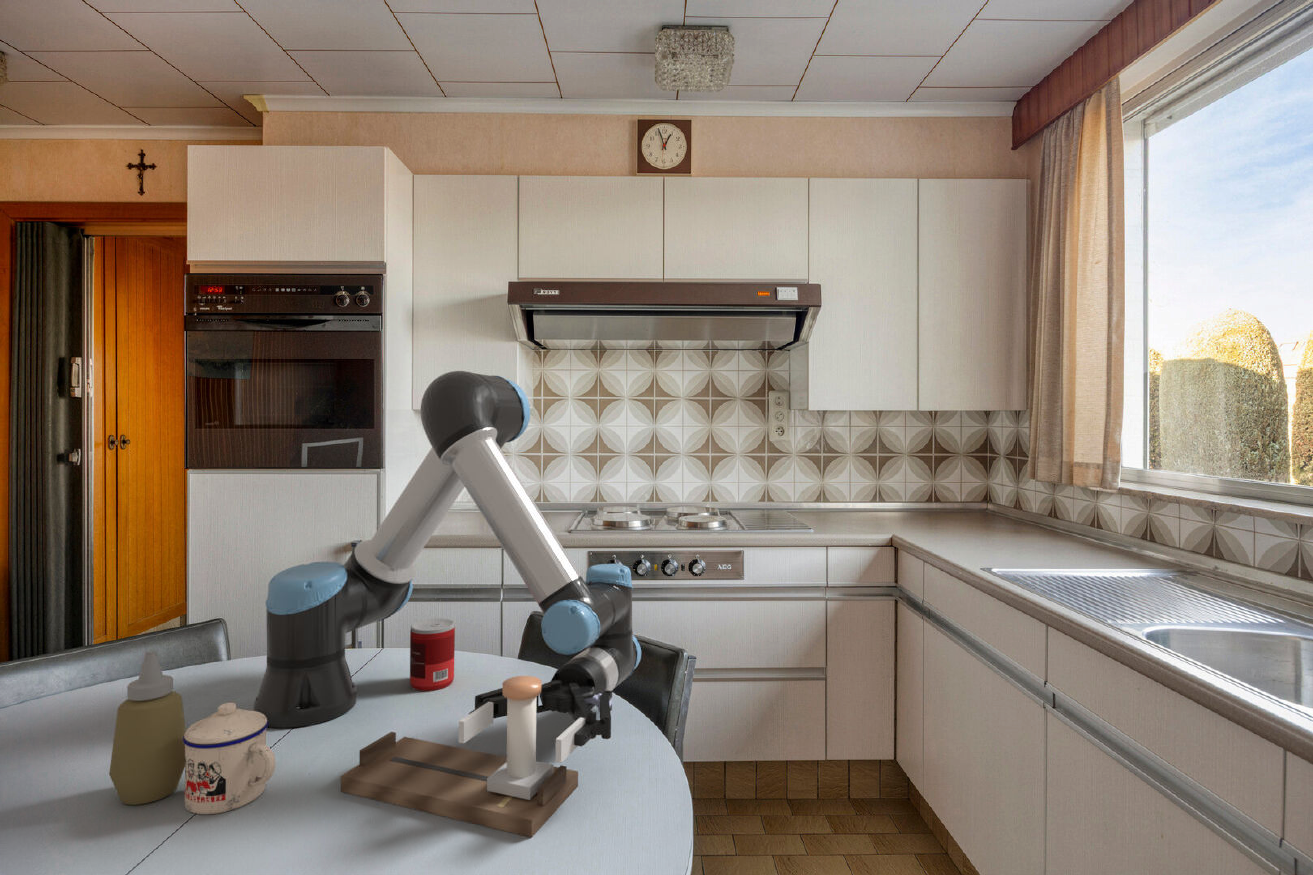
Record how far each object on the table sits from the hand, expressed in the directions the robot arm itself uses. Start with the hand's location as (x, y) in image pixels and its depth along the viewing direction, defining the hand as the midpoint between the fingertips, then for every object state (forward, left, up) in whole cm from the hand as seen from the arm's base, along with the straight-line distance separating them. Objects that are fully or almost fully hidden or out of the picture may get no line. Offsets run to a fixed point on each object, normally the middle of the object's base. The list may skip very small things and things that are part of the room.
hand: (508, 741), depth 82 cm
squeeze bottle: (-45, -12, -9) cm, 47 cm away
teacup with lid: (-34, -9, -9) cm, 36 cm away
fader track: (-9, +3, -9) cm, 13 cm away
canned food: (-36, +32, -9) cm, 49 cm away
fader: (0, +3, -7) cm, 8 cm away
